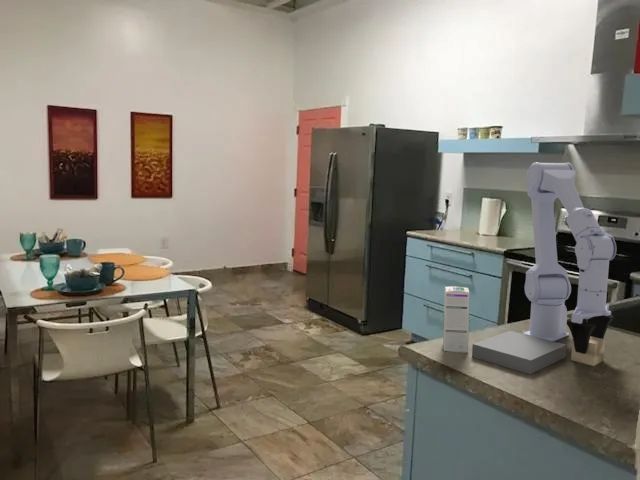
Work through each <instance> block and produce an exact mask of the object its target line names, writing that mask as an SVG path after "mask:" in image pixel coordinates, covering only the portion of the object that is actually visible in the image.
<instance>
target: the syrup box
mask: <svg viewBox="0 0 640 480" xmlns="http://www.w3.org/2000/svg"><path fill="white" fill-rule="evenodd" d="M470 294H471V293H470V290H469V287H466V286H458V285H457V286H453V285H452V286H444V295H443V332H442V333H443V335H442V340H443V341H442V342H443V343H442V344H443V345H442V346H443V349H442V350H443V351H445V352H450V353H465V354H466V353H468V352H469V336H470V335H469V334H470V333H469V331H470V296H471V295H470Z"/></svg>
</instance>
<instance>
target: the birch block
mask: <svg viewBox="0 0 640 480" xmlns="http://www.w3.org/2000/svg"><path fill="white" fill-rule="evenodd" d="M605 345H606V339H605V338H603V339H600V338H596V337H591V336H590V340H589V345H588V349H587V352H586V354H582V353H578V352H576V351H575V347H574V342H573V338H572V342H571V352H570V357H571V358H570V360H571V361H575V362H577V363H580V364H585V365H589V366H593V367H595V366H596V365H598V364H600V363H602V362H604V359H605V358H604V357H605V347H606V346H605Z"/></svg>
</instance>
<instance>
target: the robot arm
mask: <svg viewBox="0 0 640 480" xmlns="http://www.w3.org/2000/svg"><path fill="white" fill-rule="evenodd" d="M576 172H577V171H575V168H574V166H573V164H572V163H570V162H539V161H537V162H536V161H535V162H533V163H531V165H530V166H529V168H528V170H527V172H526V190H527V197H529V198H530V199H531V200H530V201H531V213H532V225H533V227H532V228H533V241H534V244H533V245H534V254H535V264H534V265H532V266H531V267H530V268H529V269H528V270H526V272H525V283H524V294H525V296H526V298H527V299H528V301H530V302H531V304H530V319H529V330H526V331H524V332H522V334H525V335H529V336H533V337H537V338H541V339H545V340H549V341H553V342H557V341H558V340H561V339H563V338H565V337H568V336H569V335H570V333H571V338H572V339H573V342H574V347H575V351H576V352H578V353H582V354H586V352H587V349H588V345H589V340H590V336H591V337H596V338H600V339H605V335H606V332H607V330H608V328H609V326H610V325H611V322H612V321H613V320H614V315H612V311H611V310H609V309H610V304H607V295H608V293H607V292H608V285H609V284H608V282H609V281H608V280H609V269H610V266H609V265H610V261H613V259H614V258H615V257H616V255H617V243H616V241H615V238H614V236H612V235H611V234H608V233H607V232H606V231H603V230H602V228H601V226H600V225H599V224H600V223H599V222H598V221H597V219H596V217H595V215H594V213H593V211H592V210H591V209H590V208H588V207H584V204H583V202H582V200H581V198H580V194H579V191H578V190H577V187H576V185H575V181H576V175H577V173H576ZM556 199H559V201H560V202H561V204H562V207H564V209H565V211H566V212H567V214H568V215H567V216H566V223H567V226H568V228H569V229H570V231H571V233H572V236H573V238H574V240H575V242H576V244H575V246H574V253H575V256H576V260H577V261H576V263H577V264H576V266H577V268H579V274H578V286H577V301H576V307H575V309H574V311H573V312H571V318H568V309H567V306H566V305H565V304H566V300H568V299H569V298H570V295H571V293H572V285H571V282H570V279H569V275H568V271H567V269H566V268H564V267H563V266H562V265H560V264H559V262H558V250H557V249H558V248H557V236H556V226H555V225H556V222H555V211H554V210H555V209H554V208H555V207H554V202H555V201H556ZM547 275H548V276H547ZM549 275H550V276H549ZM567 318H568V319H567ZM567 327H568V328H569V331H570V333H569V332H566V331H567Z"/></svg>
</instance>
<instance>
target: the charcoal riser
mask: <svg viewBox="0 0 640 480" xmlns="http://www.w3.org/2000/svg"><path fill="white" fill-rule="evenodd" d="M471 351H472V352H471V354H472V355H471V357H472V358H474V359H475V358H476V359H479V360H481V361H486V362H488V363H492V364H493V365H494V364H495V365H499V366H502V367H504V368H508V369H511V370H515V371H518V372H522V373H525V374H528V375H532V374H534V373H535V372H538V371H540V370H542V369H544V368H546V367H548V366H550V365H553V364H555V363H556V362H557V363H558V361H561V360H564V359H565V358H566V355H567V344H564V343H561V342H557V341H549V340H545V339H541V338H537V337H533V336H529V335H525V334H523V333H520V332H516V331H512V330H508V331H506V332H502V333H500V334H496V335H494V336H490V337H489V338H486V339H483V340H481V341H477V342H475V343H472V349H471Z"/></svg>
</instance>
